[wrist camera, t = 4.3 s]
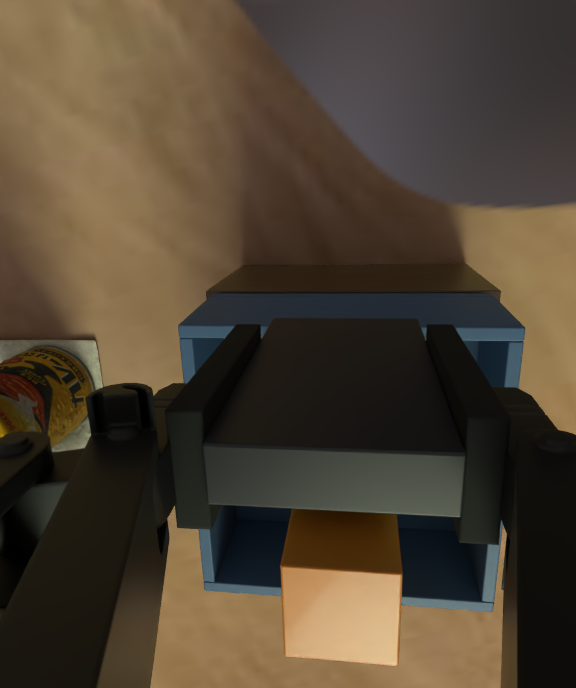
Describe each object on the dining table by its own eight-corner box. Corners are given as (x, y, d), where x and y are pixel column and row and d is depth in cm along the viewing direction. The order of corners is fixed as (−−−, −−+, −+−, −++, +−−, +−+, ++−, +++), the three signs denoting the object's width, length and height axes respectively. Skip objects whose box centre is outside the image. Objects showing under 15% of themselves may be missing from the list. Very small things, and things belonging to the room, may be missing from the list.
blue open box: (213, 286, 24) (32, 437, 11) (492, 286, 22) (678, 461, 9) (230, 518, 28) (113, 837, 15) (469, 532, 26) (578, 901, 13)
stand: (231, 265, 32) (188, 293, 24) (478, 263, 30) (520, 293, 22) (242, 451, 36) (207, 530, 28) (463, 460, 34) (495, 547, 26)
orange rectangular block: (304, 445, 25) (279, 565, 18) (390, 448, 25) (402, 573, 17) (305, 517, 27) (283, 657, 19) (387, 521, 26) (398, 667, 19)
